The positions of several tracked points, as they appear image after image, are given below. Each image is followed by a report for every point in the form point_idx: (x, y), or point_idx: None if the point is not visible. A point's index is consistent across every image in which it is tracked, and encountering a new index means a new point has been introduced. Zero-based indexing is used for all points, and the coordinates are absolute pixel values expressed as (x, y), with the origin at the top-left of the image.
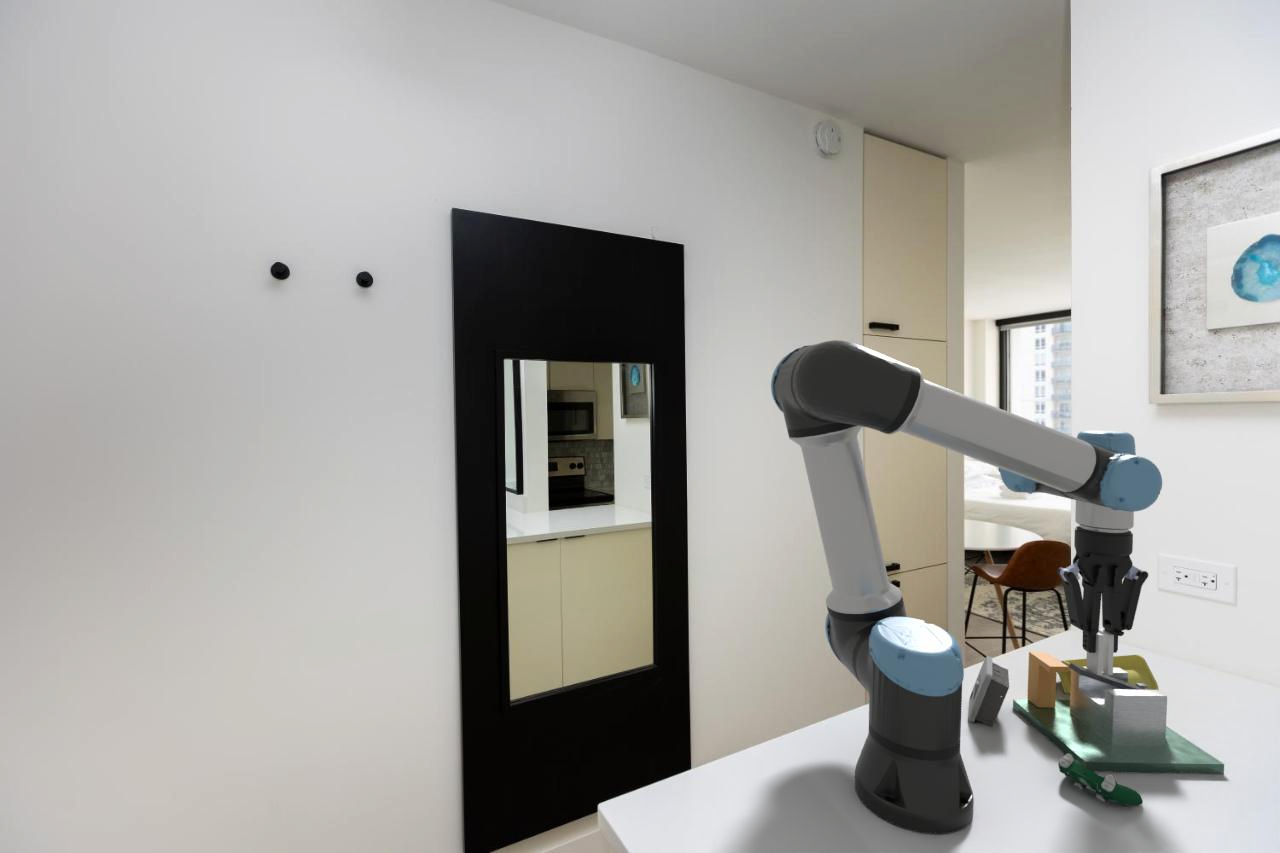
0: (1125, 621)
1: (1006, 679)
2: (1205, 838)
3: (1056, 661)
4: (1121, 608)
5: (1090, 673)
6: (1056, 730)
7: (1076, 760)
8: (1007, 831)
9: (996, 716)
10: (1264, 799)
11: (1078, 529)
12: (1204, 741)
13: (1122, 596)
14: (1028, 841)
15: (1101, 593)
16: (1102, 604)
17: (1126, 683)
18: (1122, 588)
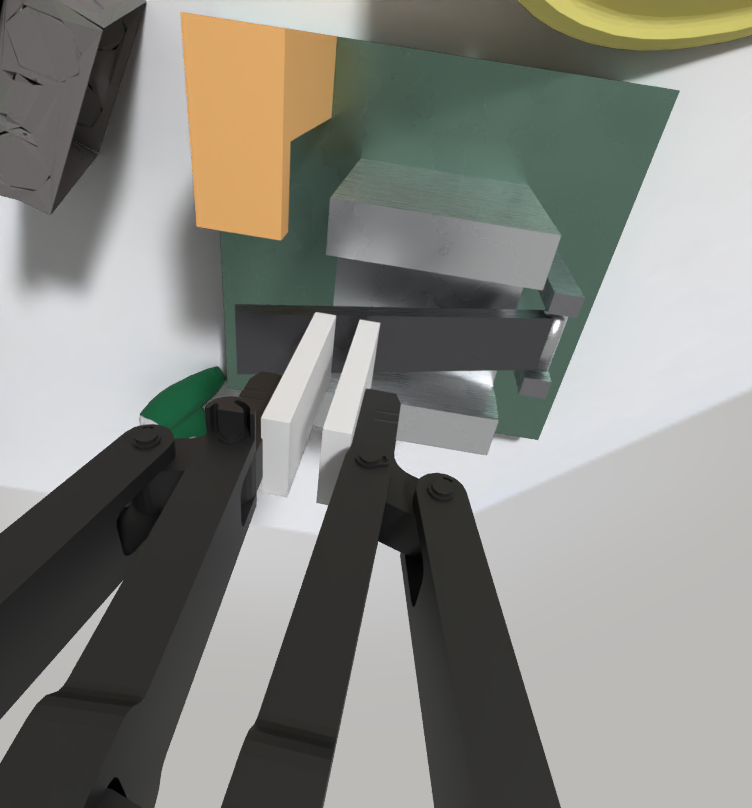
0: (403, 578)
1: (56, 152)
2: (310, 527)
3: (261, 175)
4: (425, 606)
5: (283, 371)
6: (242, 257)
7: (195, 399)
8: (18, 472)
9: (85, 165)
10: (516, 488)
11: None
12: (667, 314)
13: (443, 697)
14: (43, 490)
15: (163, 761)
16: (306, 575)
17: (464, 339)
18: (463, 772)
